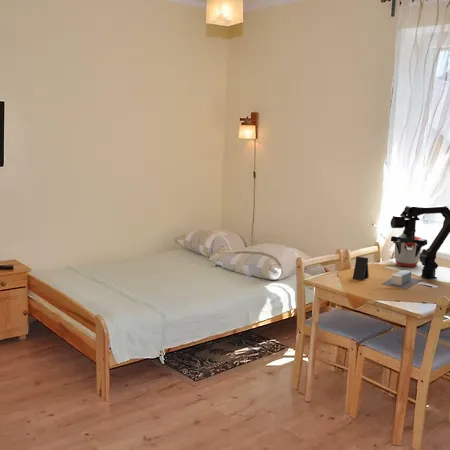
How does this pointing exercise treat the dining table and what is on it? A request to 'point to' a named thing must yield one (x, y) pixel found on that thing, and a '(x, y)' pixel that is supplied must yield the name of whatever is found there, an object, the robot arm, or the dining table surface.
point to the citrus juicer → (407, 254)
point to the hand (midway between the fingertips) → (407, 255)
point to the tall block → (401, 277)
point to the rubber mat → (405, 285)
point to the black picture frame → (361, 269)
